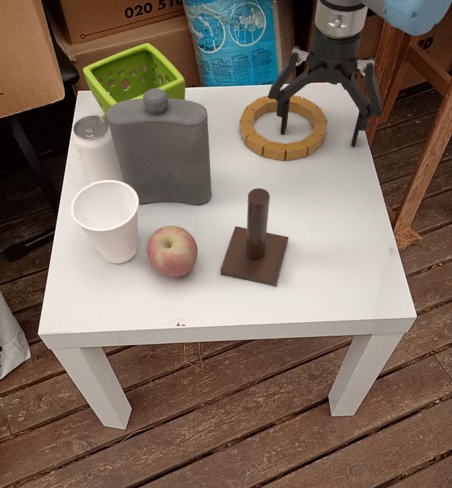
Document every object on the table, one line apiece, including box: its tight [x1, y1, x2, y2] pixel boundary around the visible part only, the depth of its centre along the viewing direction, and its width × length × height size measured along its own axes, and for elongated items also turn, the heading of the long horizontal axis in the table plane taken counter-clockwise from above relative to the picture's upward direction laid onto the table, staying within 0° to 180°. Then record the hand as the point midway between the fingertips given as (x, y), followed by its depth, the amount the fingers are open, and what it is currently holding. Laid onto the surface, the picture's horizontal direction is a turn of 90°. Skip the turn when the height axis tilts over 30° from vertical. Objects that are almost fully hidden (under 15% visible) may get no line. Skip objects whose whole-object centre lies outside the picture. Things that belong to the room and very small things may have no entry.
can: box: [72, 114, 124, 185], centre depth 86 cm, size 6×6×12 cm
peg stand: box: [220, 187, 290, 287], centre depth 75 cm, size 9×9×14 cm
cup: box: [70, 180, 140, 264], centre depth 78 cm, size 10×10×11 cm
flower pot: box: [82, 42, 186, 125], centre depth 92 cm, size 14×14×13 cm
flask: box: [106, 88, 213, 206], centre depth 80 cm, size 15×6×20 cm, turn 88°
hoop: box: [239, 94, 328, 162], centre depth 96 cm, size 16×16×2 cm
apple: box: [146, 225, 199, 277], centre depth 77 cm, size 8×8×8 cm
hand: (318, 135), depth 96 cm, fingers open, 13 cm apart
